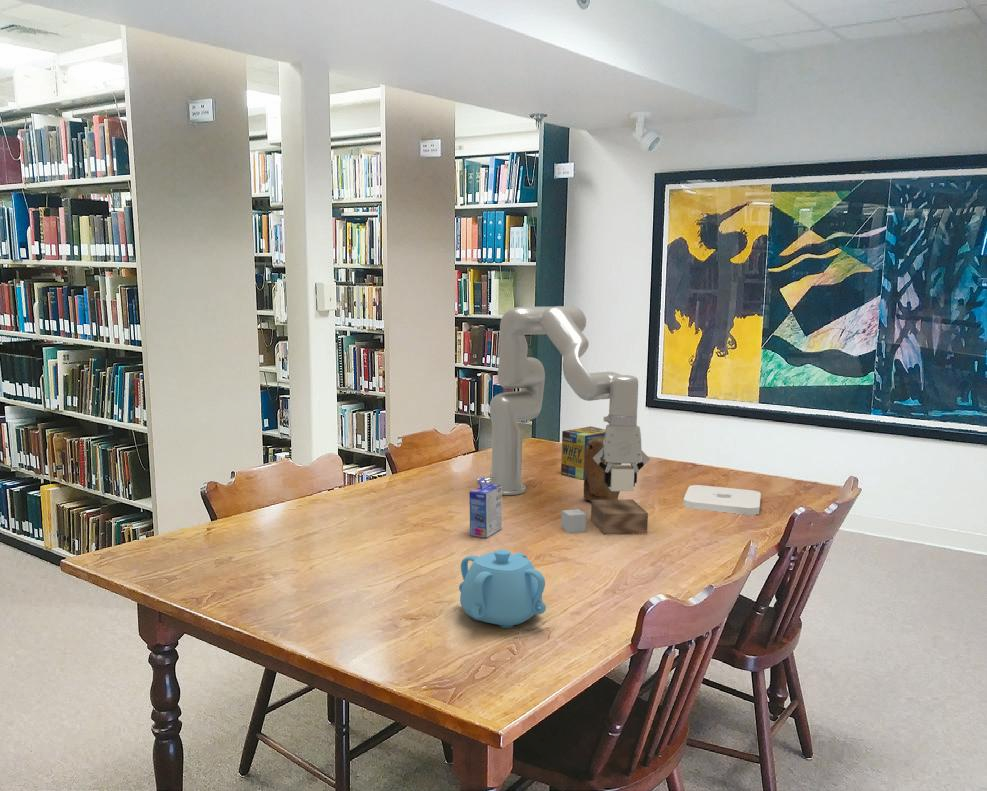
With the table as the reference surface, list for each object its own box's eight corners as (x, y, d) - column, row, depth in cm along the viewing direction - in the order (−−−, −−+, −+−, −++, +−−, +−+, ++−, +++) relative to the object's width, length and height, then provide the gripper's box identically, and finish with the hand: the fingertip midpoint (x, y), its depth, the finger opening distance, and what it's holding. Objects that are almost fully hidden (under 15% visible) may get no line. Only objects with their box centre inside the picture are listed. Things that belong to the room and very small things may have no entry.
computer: (758, 517, 239) (759, 508, 239) (681, 509, 246) (682, 500, 246) (760, 499, 260) (761, 491, 260) (689, 492, 267) (689, 484, 267)
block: (622, 502, 251) (625, 438, 248) (609, 507, 245) (612, 442, 242) (592, 496, 258) (594, 433, 255) (578, 501, 252) (581, 437, 249)
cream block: (611, 491, 222) (612, 469, 221) (607, 485, 228) (607, 464, 227) (633, 491, 222) (634, 469, 222) (628, 485, 228) (629, 464, 227)
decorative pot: (463, 635, 156) (464, 566, 154) (457, 601, 172) (458, 539, 170) (547, 632, 158) (549, 564, 156) (534, 599, 174) (535, 537, 172)
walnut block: (603, 535, 219) (604, 514, 218) (590, 520, 233) (591, 499, 232) (646, 534, 221) (648, 513, 220) (631, 519, 234) (632, 499, 234)
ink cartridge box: (484, 525, 225) (485, 474, 223) (502, 528, 223) (503, 476, 221) (467, 535, 216) (468, 481, 214) (486, 538, 214) (488, 484, 212)
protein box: (560, 474, 286) (561, 430, 284) (589, 468, 296) (590, 426, 294) (582, 480, 278) (584, 435, 276) (611, 473, 289) (613, 430, 286)
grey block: (568, 533, 220) (569, 515, 219) (561, 528, 225) (561, 510, 224) (585, 532, 221) (586, 514, 221) (577, 526, 226) (578, 509, 225)
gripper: (593, 423, 218) (591, 489, 221) (657, 423, 219) (654, 489, 222) (588, 418, 226) (586, 482, 228) (650, 418, 227) (647, 482, 229)
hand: (620, 485), depth 225 cm, fingers closed on cream block, 6 cm apart
